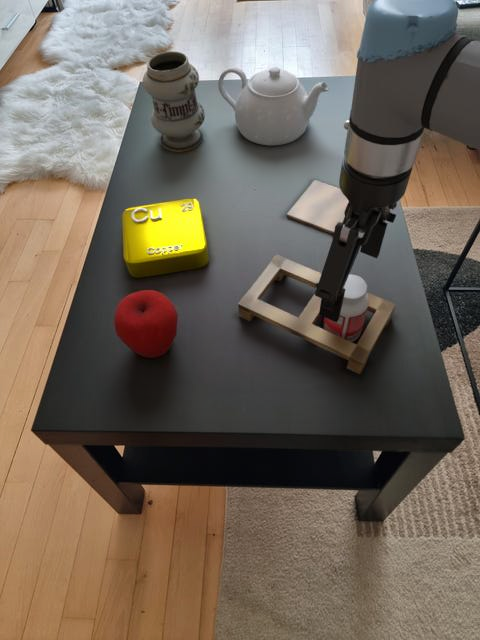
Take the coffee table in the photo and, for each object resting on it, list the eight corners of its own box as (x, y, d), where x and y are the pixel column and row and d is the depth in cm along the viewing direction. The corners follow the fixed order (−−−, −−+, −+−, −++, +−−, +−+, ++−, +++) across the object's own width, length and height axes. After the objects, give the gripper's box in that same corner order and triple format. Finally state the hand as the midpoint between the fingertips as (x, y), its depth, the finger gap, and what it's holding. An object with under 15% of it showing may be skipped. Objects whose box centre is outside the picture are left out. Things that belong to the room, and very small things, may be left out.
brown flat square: (368, 200, 96) (368, 198, 96) (342, 237, 91) (342, 235, 90) (314, 181, 100) (314, 179, 100) (286, 216, 95) (286, 214, 94)
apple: (191, 358, 77) (181, 318, 68) (133, 378, 75) (115, 340, 66) (174, 312, 82) (163, 270, 74) (120, 330, 81) (101, 289, 72)
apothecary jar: (152, 129, 115) (135, 51, 100) (202, 120, 116) (192, 41, 101) (159, 159, 108) (141, 80, 93) (211, 149, 109) (202, 69, 94)
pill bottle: (361, 316, 80) (373, 272, 71) (360, 347, 76) (372, 305, 67) (324, 311, 81) (331, 268, 72) (321, 342, 77) (327, 300, 68)
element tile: (129, 280, 87) (122, 262, 83) (127, 224, 96) (120, 205, 92) (210, 267, 88) (208, 249, 84) (201, 212, 97) (198, 193, 93)
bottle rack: (391, 317, 79) (396, 304, 77) (359, 374, 73) (363, 363, 71) (276, 267, 87) (276, 254, 84) (239, 316, 81) (237, 303, 78)
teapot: (289, 97, 119) (291, 39, 108) (325, 136, 109) (331, 76, 98) (220, 117, 116) (214, 60, 105) (251, 159, 106) (248, 100, 95)
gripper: (389, 94, 59) (361, 222, 76) (291, 216, 47) (285, 334, 65) (450, 110, 56) (407, 239, 74) (362, 244, 45) (335, 359, 62)
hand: (350, 283), depth 69 cm, fingers open, 13 cm apart
